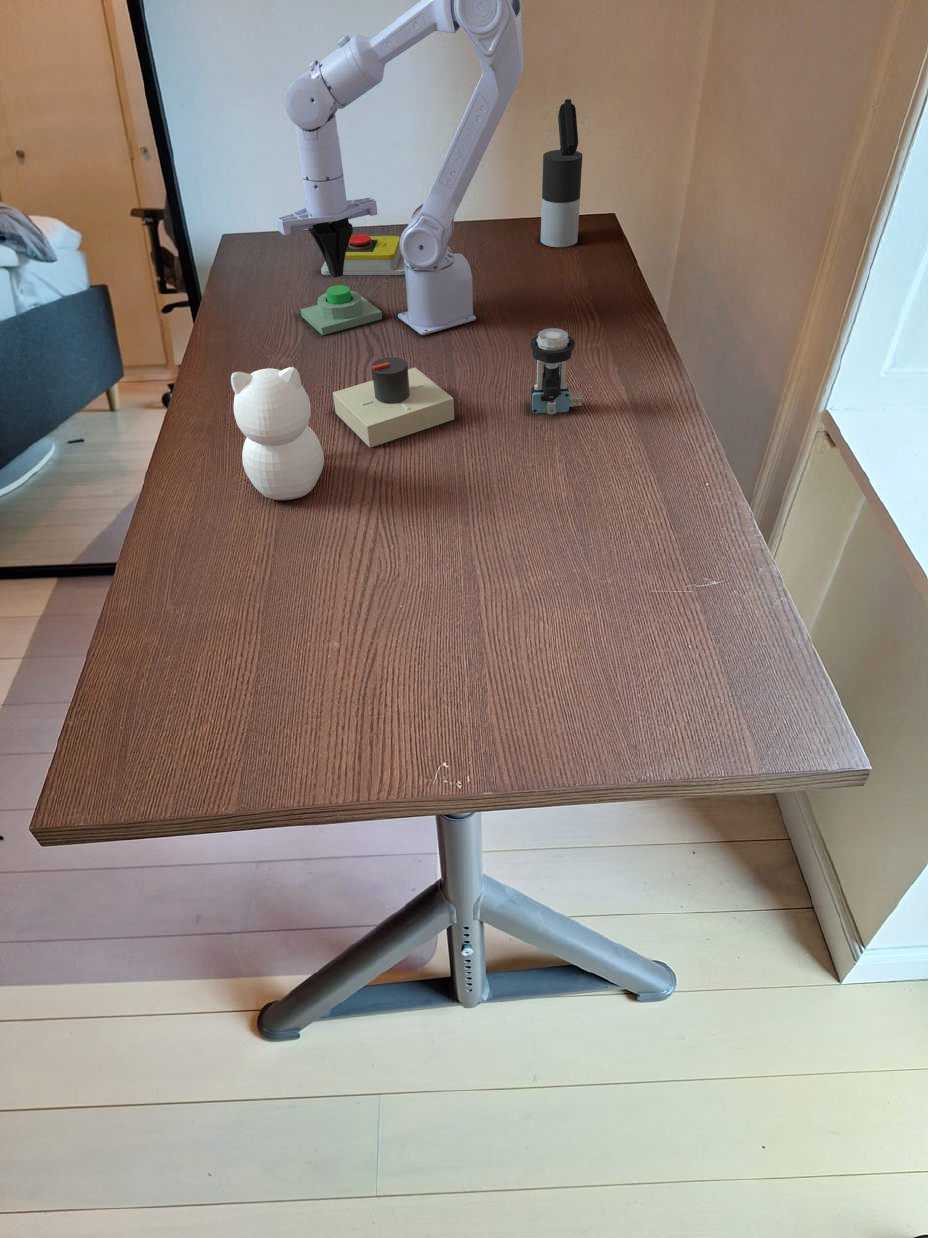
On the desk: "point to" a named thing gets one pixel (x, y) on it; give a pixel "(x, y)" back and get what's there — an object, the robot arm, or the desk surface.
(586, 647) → the desk surface
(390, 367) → the dimmer knob
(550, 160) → the track light
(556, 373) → the push button
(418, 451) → the desk surface
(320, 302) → the switch block
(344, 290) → the light button
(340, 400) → the dimmer panel
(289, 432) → the cat figurine
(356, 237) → the emergency button
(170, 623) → the desk surface
